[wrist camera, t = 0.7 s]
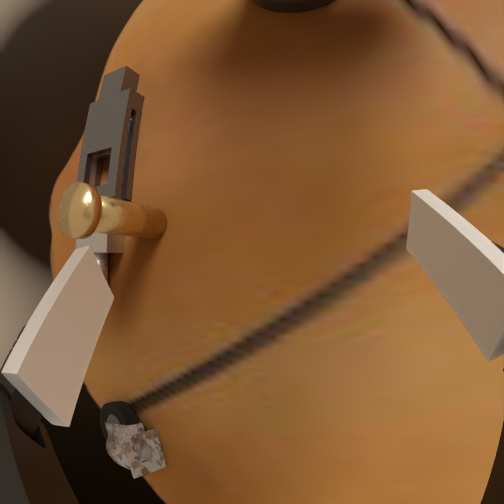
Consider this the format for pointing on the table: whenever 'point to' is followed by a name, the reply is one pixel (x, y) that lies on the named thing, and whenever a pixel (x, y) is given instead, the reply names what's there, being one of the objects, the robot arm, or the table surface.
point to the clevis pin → (106, 215)
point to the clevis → (111, 151)
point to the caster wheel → (130, 440)
